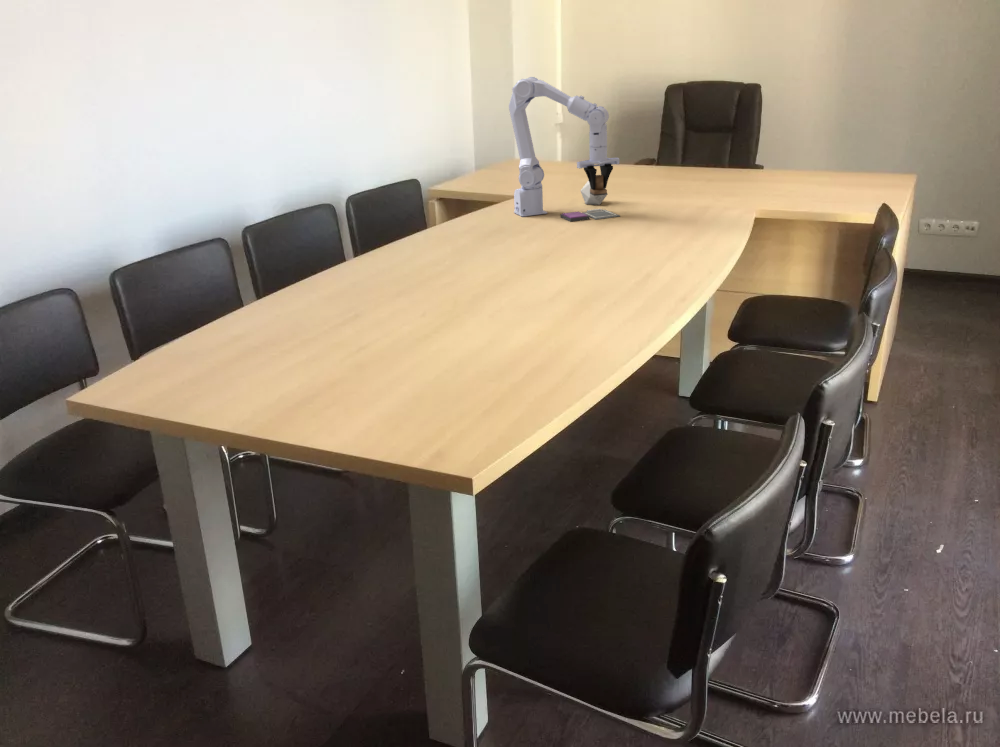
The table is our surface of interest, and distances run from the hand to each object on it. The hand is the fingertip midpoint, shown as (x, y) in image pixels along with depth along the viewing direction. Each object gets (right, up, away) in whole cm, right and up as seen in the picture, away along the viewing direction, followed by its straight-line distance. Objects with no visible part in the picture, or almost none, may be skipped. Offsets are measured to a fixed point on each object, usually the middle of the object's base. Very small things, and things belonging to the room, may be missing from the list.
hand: (598, 188), depth 279 cm
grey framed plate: (+1, -8, +4) cm, 9 cm away
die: (+1, -1, +22) cm, 22 cm away
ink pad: (-8, -10, +1) cm, 13 cm away
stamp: (0, -2, +1) cm, 2 cm away
